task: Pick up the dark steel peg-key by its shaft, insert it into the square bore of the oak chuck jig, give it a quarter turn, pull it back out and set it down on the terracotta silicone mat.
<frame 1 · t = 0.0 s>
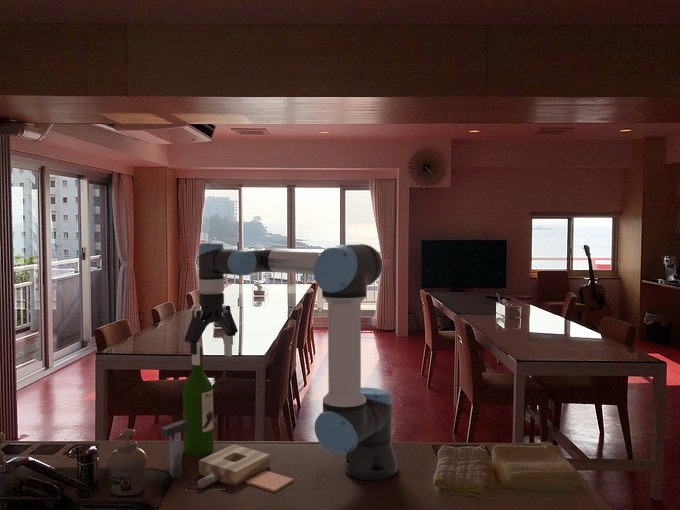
hand: (212, 360, 178), 28 cm above the kitchen counter, fingers open, 13 cm apart
jig: (234, 471, 163), on the kitchen counter
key: (176, 475, 160), on the kitchen counter
mat: (270, 482, 156), on the kitchen counter
wine bottle: (198, 450, 178), on the kitchen counter
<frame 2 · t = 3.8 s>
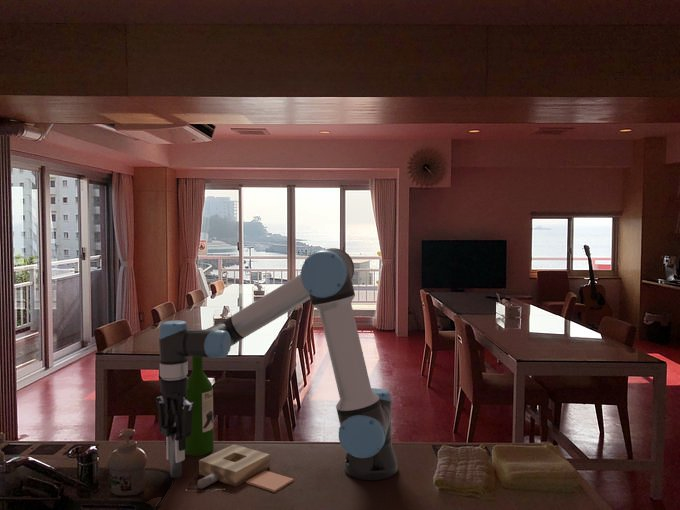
hand: (175, 459, 160), 5 cm above the kitchen counter, fingers closed on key, 3 cm apart
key: (176, 475, 160), on the kitchen counter, touching gripper
everything else where it was.
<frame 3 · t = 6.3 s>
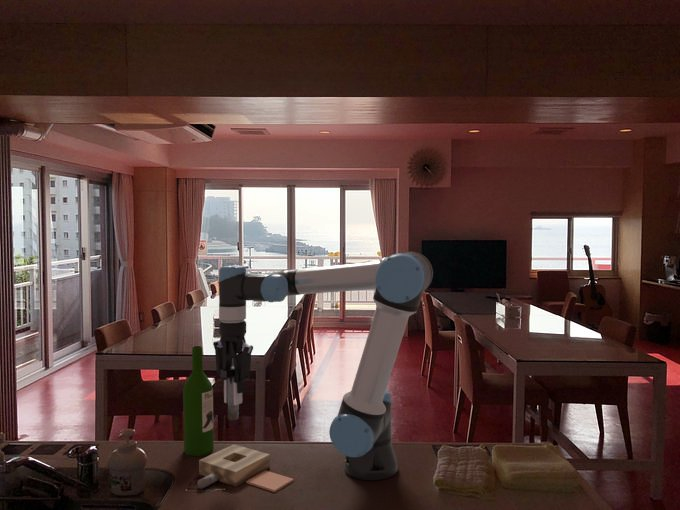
hand: (233, 402, 162), 20 cm above the kitchen counter, fingers closed on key, 3 cm apart
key: (233, 418, 162), point 15 cm above the kitchen counter, touching gripper
everything else where it was.
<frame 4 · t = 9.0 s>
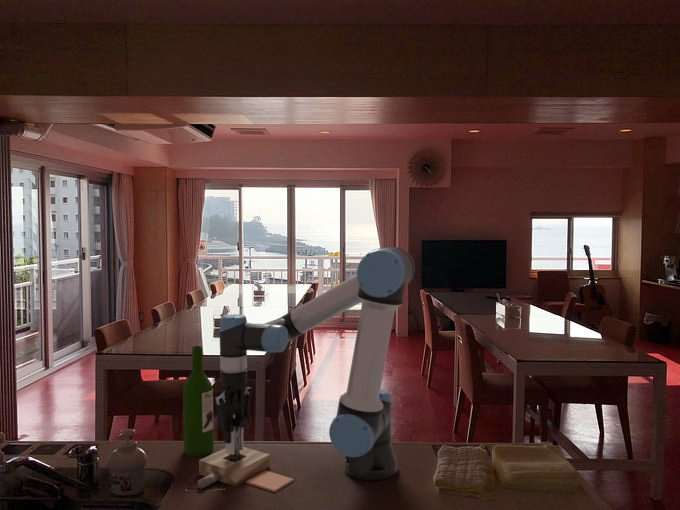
hand: (234, 451, 163), 6 cm above the kitchen counter, fingers closed on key, 3 cm apart
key: (234, 466, 163), point 1 cm above the kitchen counter, touching gripper
everything else where it was.
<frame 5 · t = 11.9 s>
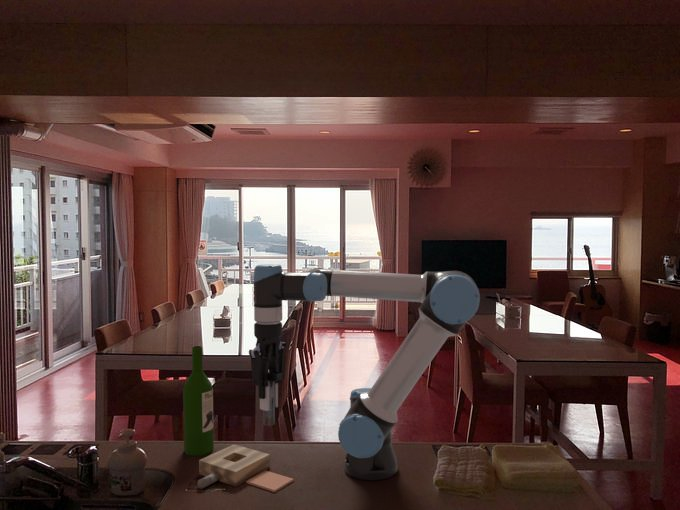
hand: (268, 407, 155), 21 cm above the kitchen counter, fingers closed on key, 3 cm apart
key: (269, 424, 155), point 16 cm above the kitchen counter, touching gripper
everything else where it was.
when the fingers open (7 cm above the kitchen counter, at t = 14.5 s): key drops 1 cm, resting on mat.
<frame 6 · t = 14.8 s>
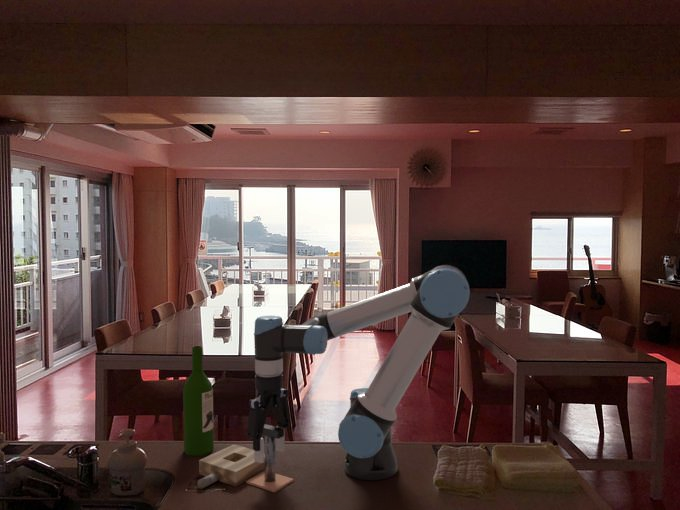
hand: (269, 456, 155), 7 cm above the kitchen counter, fingers open, 8 cm apart
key: (270, 479, 156), point 1 cm above the kitchen counter, touching mat
everything else where it was.
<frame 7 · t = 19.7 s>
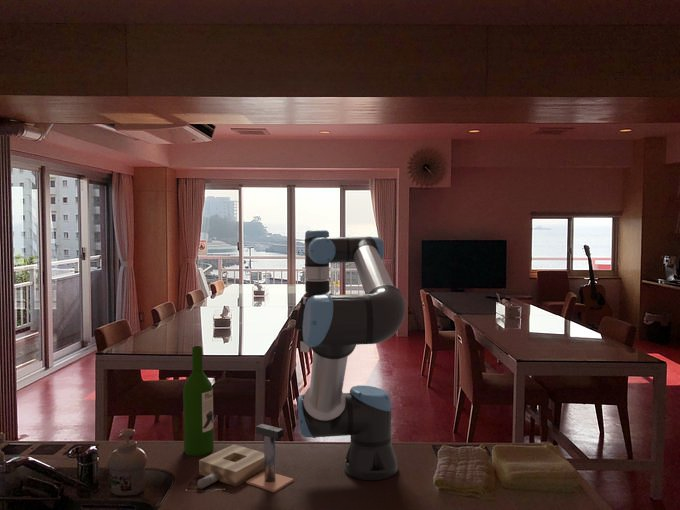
hand: (317, 347, 178), 32 cm above the kitchen counter, fingers open, 13 cm apart
nothing on the kitchen counter moved.
at the end: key inside the target area on the mat (0.0 cm from its centre), point 0.6 cm above the mat's base; the gripper is holding nothing; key moved 27.3 cm from its start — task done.
